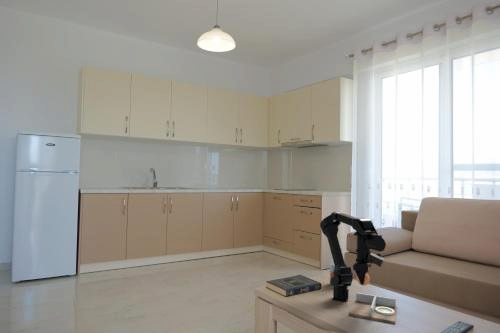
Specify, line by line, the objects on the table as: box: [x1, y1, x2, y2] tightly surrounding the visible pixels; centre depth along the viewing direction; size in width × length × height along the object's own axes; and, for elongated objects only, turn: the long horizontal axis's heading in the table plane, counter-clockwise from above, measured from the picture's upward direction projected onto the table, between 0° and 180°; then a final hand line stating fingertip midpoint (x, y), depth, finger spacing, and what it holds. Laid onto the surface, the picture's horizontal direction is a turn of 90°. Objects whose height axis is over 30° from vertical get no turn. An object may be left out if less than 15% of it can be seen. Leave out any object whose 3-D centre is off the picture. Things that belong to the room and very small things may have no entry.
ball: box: [356, 272, 371, 286], centre depth 150 cm, size 6×6×6 cm
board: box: [348, 292, 398, 325], centre depth 148 cm, size 18×18×4 cm
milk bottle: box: [329, 247, 342, 281], centre depth 187 cm, size 8×8×20 cm
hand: (363, 282), depth 150 cm, fingers closed on ball, 5 cm apart
